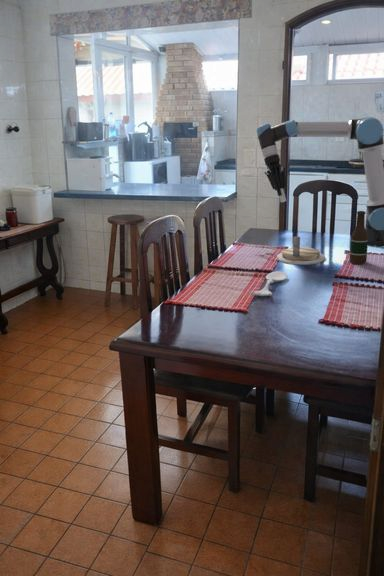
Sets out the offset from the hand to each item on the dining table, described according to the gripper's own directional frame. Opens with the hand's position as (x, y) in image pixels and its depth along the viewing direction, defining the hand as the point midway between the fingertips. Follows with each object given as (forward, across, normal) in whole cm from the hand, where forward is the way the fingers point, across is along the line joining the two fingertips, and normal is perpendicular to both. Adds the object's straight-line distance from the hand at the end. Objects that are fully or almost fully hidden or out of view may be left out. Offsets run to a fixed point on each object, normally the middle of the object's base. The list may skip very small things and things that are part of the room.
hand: (283, 201), depth 258 cm
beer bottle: (+38, -8, +28) cm, 48 cm away
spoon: (+37, +47, +25) cm, 65 cm away
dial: (+28, +5, +6) cm, 29 cm away
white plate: (+29, +5, +6) cm, 30 cm away
